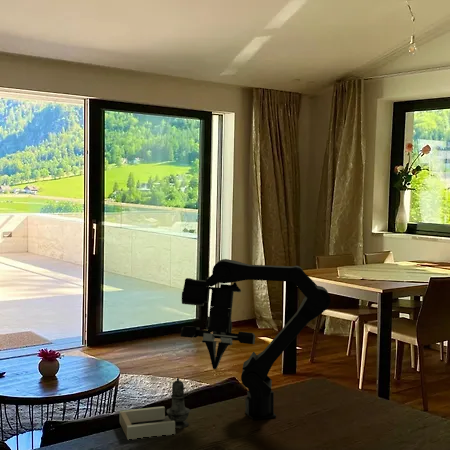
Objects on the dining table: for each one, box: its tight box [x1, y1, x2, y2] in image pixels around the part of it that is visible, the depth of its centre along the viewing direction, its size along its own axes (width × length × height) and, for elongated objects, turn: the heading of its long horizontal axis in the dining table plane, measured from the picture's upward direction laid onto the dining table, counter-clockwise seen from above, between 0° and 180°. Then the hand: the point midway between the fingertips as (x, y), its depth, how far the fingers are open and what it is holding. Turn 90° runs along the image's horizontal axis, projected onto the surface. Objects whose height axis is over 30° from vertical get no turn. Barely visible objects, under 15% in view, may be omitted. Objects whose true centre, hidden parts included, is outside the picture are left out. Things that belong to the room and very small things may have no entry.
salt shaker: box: [165, 377, 191, 429], centre depth 164 cm, size 6×6×12 cm
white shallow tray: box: [119, 406, 176, 441], centre depth 162 cm, size 11×12×3 cm
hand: (214, 369), depth 168 cm, fingers closed
